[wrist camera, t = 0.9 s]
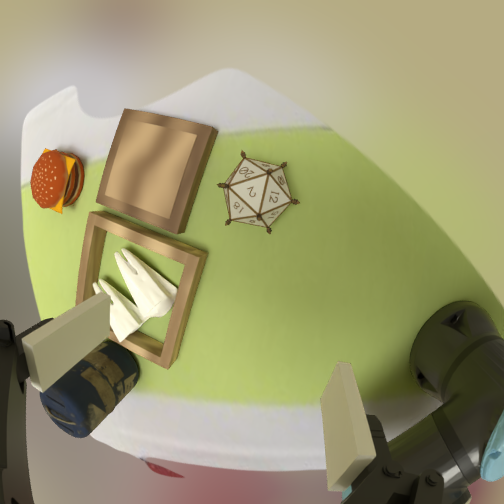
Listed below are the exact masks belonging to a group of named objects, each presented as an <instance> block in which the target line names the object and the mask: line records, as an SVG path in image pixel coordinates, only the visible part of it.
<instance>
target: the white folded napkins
mask: <svg viewBox="0 0 504 504" xmlns="http://www.w3.org/2000/svg"><path fill="white" fill-rule="evenodd" d="M121 250H122V252H123V254H124V256H125V257H126V259H127V260H128V262H126V261H125V260H124V259H123V258H122V257H121V255H120V254H119V253H118V252H115V254H114V255H115V258H116V261H117V264H118V266H119V269H120V271H121V274H122V276H123V278H124V280H125V283H126V285H127V287H128V289H129V291H130V293H131V295H132V297H133V299H134V301H135V303H136V305H137V306H136V305H135V304H133V303H132V302H131V301H130V300H128V299H127V298H126V297H125V296H124V295H122V294H121V293H120V292H118V291H117V290H116V289H115V288H114V287H112V286H111V285H110V284H108V283H107V282H106V281H104V280H103V279H99V282H100V284H101V285H102V287H103V288H104V290H105V291H106V292H107V294H108V295H110V296H111V299H112V301H113V304H112V303H110V326H111V328H112V329H113V331H114V333H115V335H116V337H117V339H118V340H119V342H121V341H123V340H124V339H125V338H126V337H127V336H128V335H129V334H132V333H134V332H135V331H136V330H137V329H138V328H139V327H141V326H142V324H143V323H144V322H146V320H148V319H149V318H150V317H162V316H163V315H165V314H166V313H167V312H168V311H169V310H170V308H171V307H172V305H173V303H174V301H175V299H176V295H177V291H178V289H177V288H176V287H175V286H174V285H172V284H171V283H170V282H168V281H167V280H166V279H165V278H163V277H162V276H161V275H159V274H158V273H157V272H156V271H154V270H153V269H152V268H150V267H149V266H148V265H147V264H145V263H144V262H143V261H141V260H140V259H139V258H138V257H136V256H135V255H134V254H132V253H131V252H130V251H128V250H127V249H125V248H122V249H121ZM93 287H94V290H95V293H96V294H98V293H99V292H102V290H101V289H100V287H99V286H98V285H97V283H96V282H94V283H93ZM102 293H103V292H102Z"/></svg>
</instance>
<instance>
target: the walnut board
mask: <svg viewBox="0 0 504 504" xmlns="http://www.w3.org/2000/svg"><path fill="white" fill-rule="evenodd" d="M217 134H218V131H217V130H216V129H214V128H213V127H211V126H207V125H203V124H199V123H195V122H191V121H186V120H182V119H177V118H173V117H168V116H163V115H158V114H153V113H148V112H143V111H137V110H131V109H124V111H123V114H122V117H121V119H120V122H119V125H118V128H117V130H116V133H115V136H114V139H113V142H112V145H111V148H110V152H109V155H108V158H107V161H106V165H105V168H104V172H103V175H102V179H101V183H100V187H99V191H98V195H97V199H96V203H99V204H101V205H104V206H106V207H109V208H111V209H114V210H116V211H119V212H121V213H124V214H126V215H129V216H131V217H134V218H136V219H139V220H141V221H144V222H146V223H149V224H151V225H154V226H156V227H159V228H162V229H164V230H167V231H169V232H172V233H174V234H181V233H184V232H185V229H186V225H187V222H188V219H189V216H190V212H191V209H192V206H193V203H194V200H195V197H196V194H197V191H198V188H199V185H200V182H201V179H202V176H203V173H204V170H205V167H206V164H207V161H208V158H209V156H210V153H211V150H212V147H213V144H214V142H215V139H216V136H217Z"/></svg>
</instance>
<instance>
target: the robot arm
mask: <svg viewBox="0 0 504 504" xmlns="http://www.w3.org/2000/svg"><path fill="white" fill-rule="evenodd" d="M110 302H111V296H110V295H107V294H105V293H102V292H99V293H98V294H96V295H94V296H92V297H91V298H89V299H87V300H85V301H84V302H82V303H80V304H78V305H77V306H75V307H73V308H72V309H70V310H68V311H67V312H65V313H63V314H61V315H60V316H58V317H56V318H55V319H54V318H49V319H45V320H43V321H41V322H39V323H38V324H37V325H34V326H32V328H29V329H27V330H26V331H24V332H22V333H21V334H19V335H17V336H15V331H14V325H13V324H12V323H11V322H10V321H7V320H0V504H34V501H33V497H32V491H31V485H30V478H29V469H28V460H27V445H26V386H27V385H26V379H27V378H28V377H30V379H31V383H32V386H34V387H35V388H37V389H38V390H39V391H41V392H42V393H43V392H44V391H46V390H47V389H48V388H49V387H50V386H51V385H52V384H53V383H55V382H56V381H57V380H58V379H59V378H60V377H62V376H63V375H64V374H65V373H66V372H67V371H68V370H70V369H71V368H72V367H73V366H74V365H75V364H77V363H78V362H79V361H80V360H81V359H82V358H84V357H85V356H86V355H87V354H88V353H90V352H91V351H92V350H93V349H94V348H95V347H97V346H98V345H99V344H100V343H101V342H103V341H104V340H105V339H106V338H107V337H108V336H110ZM410 369H411V373H412V375H413V377H414V379H415V380H416V382H417V384H418V385H419V387H420V388H421V389H422V390H424V391H425V392H427V393H428V394H430V395H432V396H433V397H435V398H437V399H438V400H440V401H442V402H443V405H441V406H440V407H439V408H438V409H436V410H435V411H434V412H432V413H431V414H429V415H428V416H427V417H425V418H424V419H422V420H421V421H420V422H418V423H417V424H415V425H414V426H412V427H411V428H409V429H408V430H406V431H405V432H403V433H402V434H400V435H399V436H397V437H396V438H394V439H392V440H391V441H389V442H387V441H386V438H385V434H384V432H383V428H382V425H381V422H380V421H379V420H378V419H377V417H376V416H375V415H366V414H365V410H364V407H363V403H362V400H361V396H360V393H359V389H358V386H357V383H356V379H355V376H354V373H353V370H352V366H351V363H345V362H340V361H338V362H337V364H336V366H335V368H334V371H333V373H332V375H331V377H330V379H329V381H328V384H327V386H326V388H325V390H324V392H323V394H322V396H321V398H320V400H321V409H322V419H323V430H324V441H325V453H326V467H327V482H328V491H342V502H341V504H469V503H470V501H471V498H472V497H471V494H470V492H469V490H468V488H467V487H468V486H469V485H471V484H472V483H473V482H475V481H476V480H478V479H479V478H480V477H482V479H485V480H486V481H495V480H498V479H500V478H501V477H503V476H504V339H502V338H501V336H500V334H499V332H498V330H497V328H496V326H495V324H494V322H493V320H492V318H491V316H490V315H489V314H488V313H487V311H485V310H484V309H483V308H481V307H480V306H478V305H477V304H475V303H473V302H469V301H459V302H455V303H452V304H449V305H447V306H445V307H444V308H442V309H441V310H439V311H438V312H437V313H435V314H434V315H433V316H432V317H431V318H430V319H429V320H428V321H427V322H426V323H425V325H424V326H423V327H422V329H421V330H420V332H419V333H418V335H417V337H416V339H415V341H414V344H413V347H412V350H411V355H410Z"/></svg>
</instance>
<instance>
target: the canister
mask: <svg viewBox="0 0 504 504" xmlns="http://www.w3.org/2000/svg"><path fill="white" fill-rule="evenodd" d="M138 377H139V374H138V368H137V365H136V363H135V361H134V359H133V358H132V356H131V355H130V354H129V353H128V352H127V351H126V350H125V349H124V348H123V347H121V346H120V345H118V344H116V343H113V342H102V343H100V344H99V345H98V346H97V347H95V348H94V349H93V350H92V351H91V352H90V353H88V354H87V355H86V356H85V357H84V358H82V359H81V360H80V361H79V362H78V363H77V364H75V365H74V366H73V367H72V368H71V369H70V370H68V371H67V372H66V373H65V374H64V375H63V376H62V377H60V378H59V379H58V380H57V381H56V382H55V383H53V384H52V385H51V386H50V387H49V388H48V389H47V390H46V391H44V392H43V393H42V392H41V391H40V398H41V402H42V405H43V407H44V409H45V411H46V412H47V414H48V415H49V416H50V418H51V419H52V420H53V422H54V423H55V424H56V425H57V426H58V427H59V428H61V429H62V430H63V431H65V432H66V433H68V434H69V435H71V436H74V437H77V438H84V437H86V436H88V435H89V434H90V433H91V432H92V431H93V430H94V429H95V428H96V427H97V426H98V425H99V424H100V423H101V422H102V421H103V420H104V419H105V418H106V416H107V415H108V414H110V413H111V412H112V411H113V410H114V408H115V406H117V405H118V403H119V402H120V401H121V400H122V399H123V398H124V397H125V396H126V395H127V394H128V393H129V392H130V391H131V389H132V388H133V387H134V386H135V385H136V383H137V381H138Z"/></svg>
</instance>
